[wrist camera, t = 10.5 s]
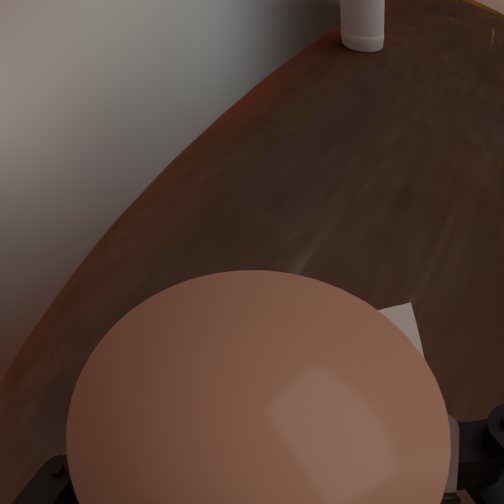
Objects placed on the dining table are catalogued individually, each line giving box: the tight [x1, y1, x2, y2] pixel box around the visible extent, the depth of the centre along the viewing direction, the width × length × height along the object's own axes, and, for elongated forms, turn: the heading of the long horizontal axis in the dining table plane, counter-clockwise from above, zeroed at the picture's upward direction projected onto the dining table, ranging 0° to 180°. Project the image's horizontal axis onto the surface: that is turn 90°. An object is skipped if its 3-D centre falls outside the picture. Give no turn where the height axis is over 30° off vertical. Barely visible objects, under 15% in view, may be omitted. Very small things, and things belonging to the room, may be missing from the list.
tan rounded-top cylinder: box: [66, 270, 451, 504], centre depth 8 cm, size 6×6×12 cm
